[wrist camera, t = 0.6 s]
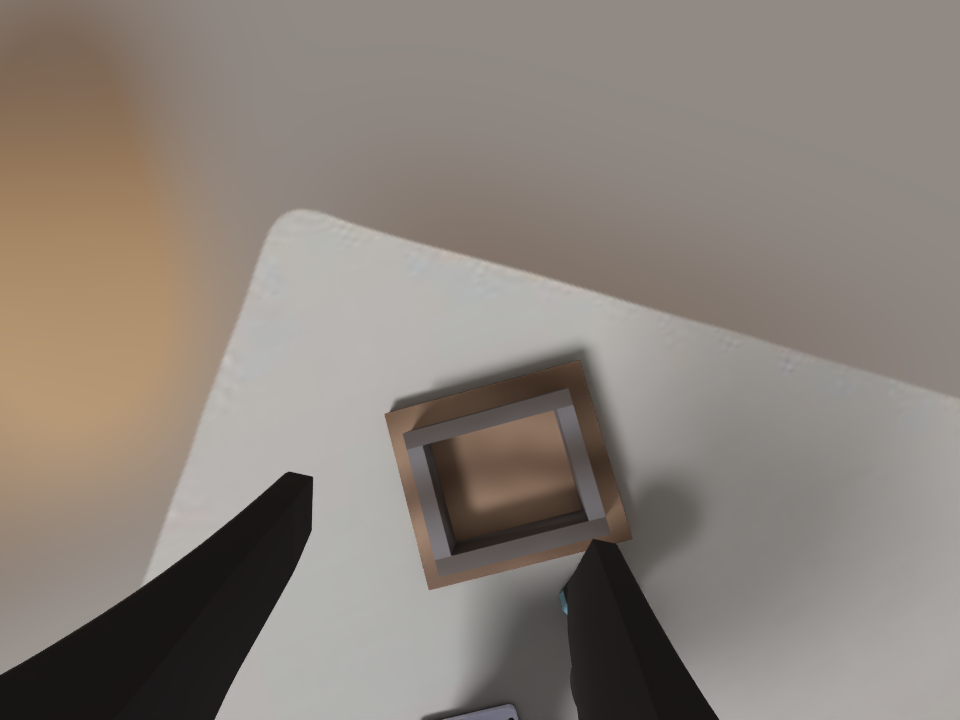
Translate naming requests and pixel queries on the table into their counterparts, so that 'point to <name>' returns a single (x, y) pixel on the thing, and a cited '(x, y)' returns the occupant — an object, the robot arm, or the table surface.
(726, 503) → the table surface
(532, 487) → the socket board
